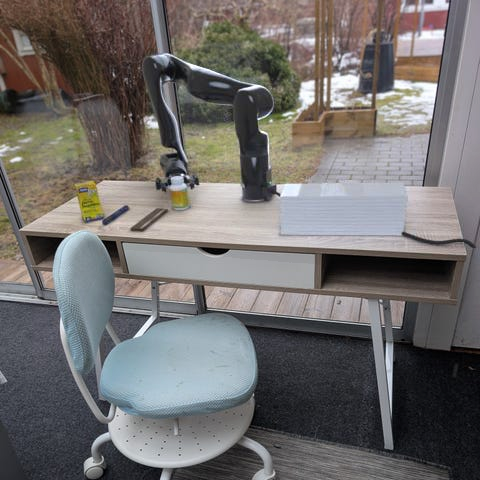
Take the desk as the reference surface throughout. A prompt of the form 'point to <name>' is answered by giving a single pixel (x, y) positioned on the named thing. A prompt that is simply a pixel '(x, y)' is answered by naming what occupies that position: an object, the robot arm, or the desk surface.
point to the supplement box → (89, 201)
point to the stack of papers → (343, 209)
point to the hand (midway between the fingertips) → (178, 188)
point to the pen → (115, 215)
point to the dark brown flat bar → (149, 219)
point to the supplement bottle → (179, 193)
